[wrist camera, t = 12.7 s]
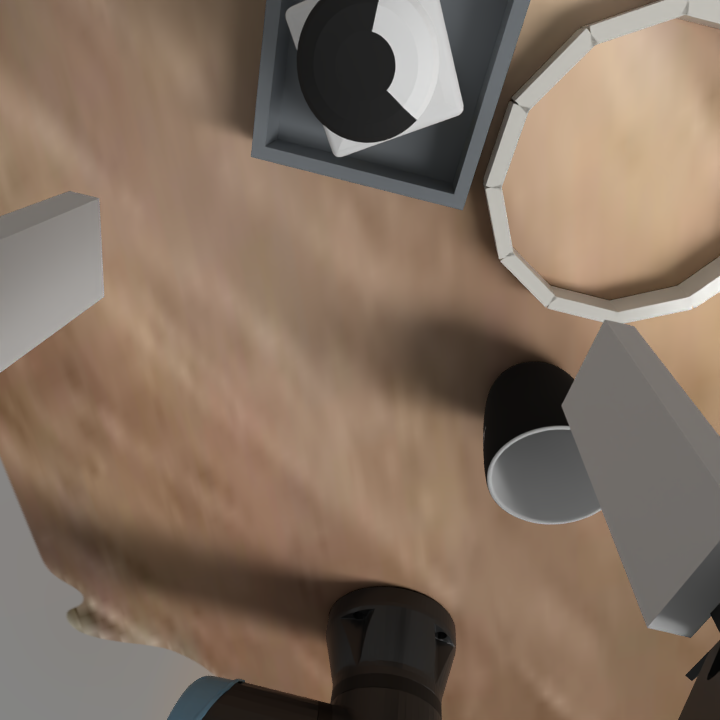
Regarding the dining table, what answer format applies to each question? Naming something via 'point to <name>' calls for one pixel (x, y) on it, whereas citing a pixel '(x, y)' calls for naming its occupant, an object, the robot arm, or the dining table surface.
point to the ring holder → (691, 3)
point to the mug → (534, 448)
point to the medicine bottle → (374, 68)
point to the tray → (407, 152)
